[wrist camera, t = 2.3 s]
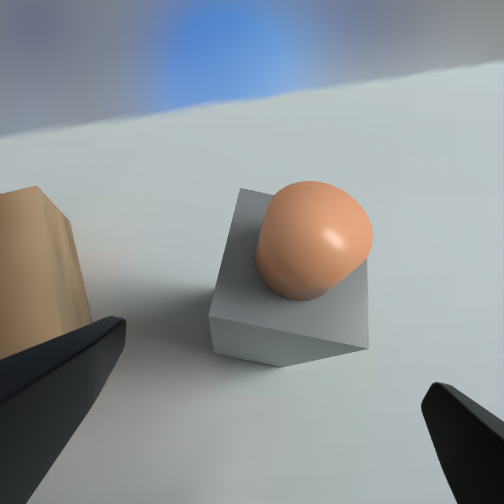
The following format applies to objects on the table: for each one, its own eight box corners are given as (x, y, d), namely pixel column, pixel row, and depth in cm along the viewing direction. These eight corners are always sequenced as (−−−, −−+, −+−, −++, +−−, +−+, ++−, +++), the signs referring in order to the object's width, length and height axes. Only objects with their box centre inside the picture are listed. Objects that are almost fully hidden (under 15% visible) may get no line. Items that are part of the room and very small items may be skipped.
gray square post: (281, 367, 17) (418, 337, 5) (214, 353, 17) (204, 293, 5) (289, 301, 19) (401, 174, 7) (228, 288, 19) (245, 140, 7)
